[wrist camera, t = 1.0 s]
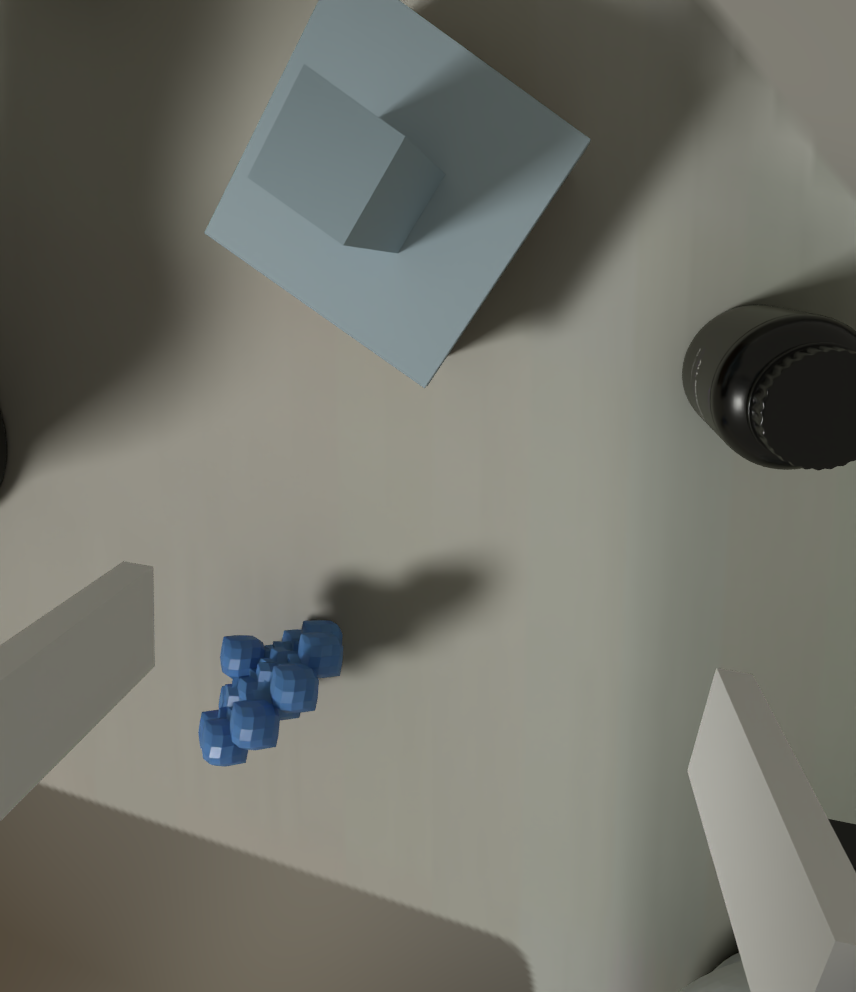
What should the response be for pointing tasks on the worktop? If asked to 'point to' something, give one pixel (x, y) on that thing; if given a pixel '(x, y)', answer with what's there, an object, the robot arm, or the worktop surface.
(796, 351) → the supplement bottle
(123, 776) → the worktop surface
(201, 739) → the grapes
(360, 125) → the lid
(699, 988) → the bowl
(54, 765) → the robot arm
